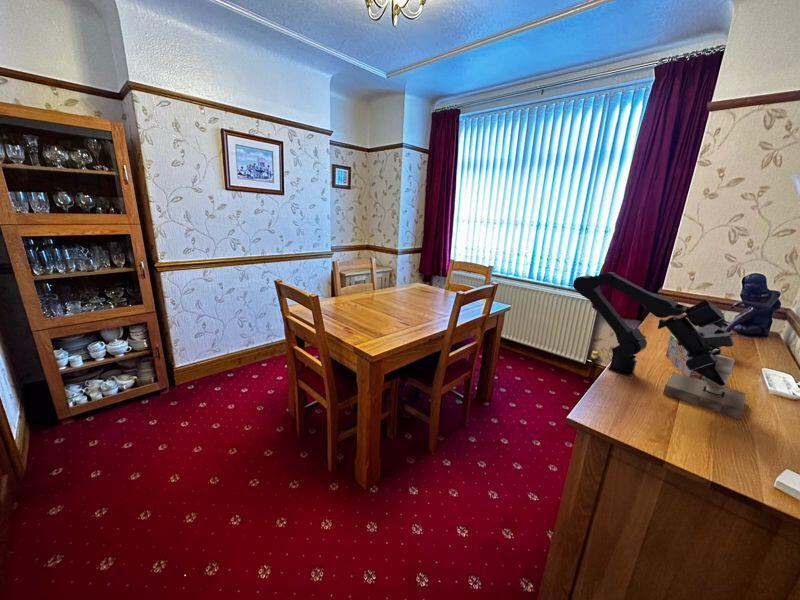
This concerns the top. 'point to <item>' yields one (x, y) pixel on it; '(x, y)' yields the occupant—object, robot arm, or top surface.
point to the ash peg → (724, 369)
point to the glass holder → (710, 327)
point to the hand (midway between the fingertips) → (724, 380)
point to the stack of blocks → (681, 359)
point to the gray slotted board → (705, 395)
